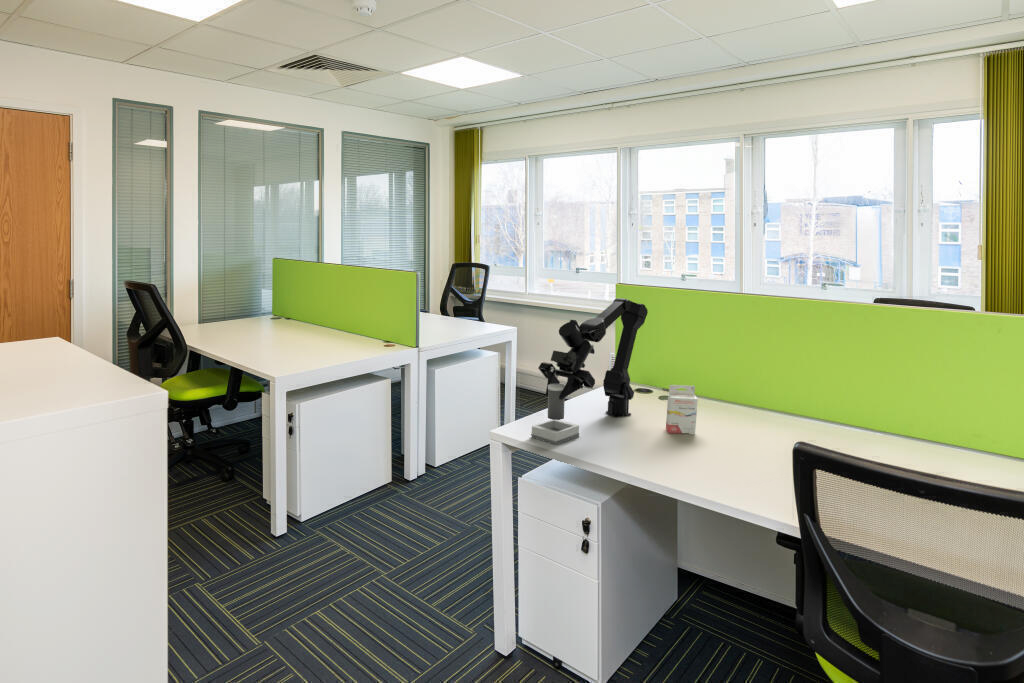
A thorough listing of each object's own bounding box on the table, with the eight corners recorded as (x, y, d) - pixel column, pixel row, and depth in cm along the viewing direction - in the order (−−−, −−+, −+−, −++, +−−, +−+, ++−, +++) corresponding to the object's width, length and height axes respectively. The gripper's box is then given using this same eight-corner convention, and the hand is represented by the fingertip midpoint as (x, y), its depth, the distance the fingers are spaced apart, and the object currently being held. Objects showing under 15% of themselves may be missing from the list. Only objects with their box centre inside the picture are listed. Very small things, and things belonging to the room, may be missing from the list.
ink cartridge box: (667, 433, 193) (670, 388, 191) (665, 428, 198) (668, 384, 195) (695, 434, 192) (698, 389, 190) (692, 429, 197) (695, 385, 195)
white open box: (554, 429, 196) (554, 418, 196) (579, 436, 190) (579, 425, 189) (531, 437, 189) (531, 426, 188) (556, 444, 182) (556, 433, 181)
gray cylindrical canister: (562, 414, 191) (563, 383, 189) (565, 419, 186) (566, 387, 184) (546, 415, 190) (546, 383, 189) (548, 420, 185) (549, 387, 184)
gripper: (542, 336, 193) (518, 376, 187) (590, 344, 180) (565, 387, 174) (558, 357, 200) (535, 397, 194) (605, 366, 187) (582, 409, 181)
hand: (553, 397), depth 186 cm, fingers closed on gray cylindrical canister, 5 cm apart
